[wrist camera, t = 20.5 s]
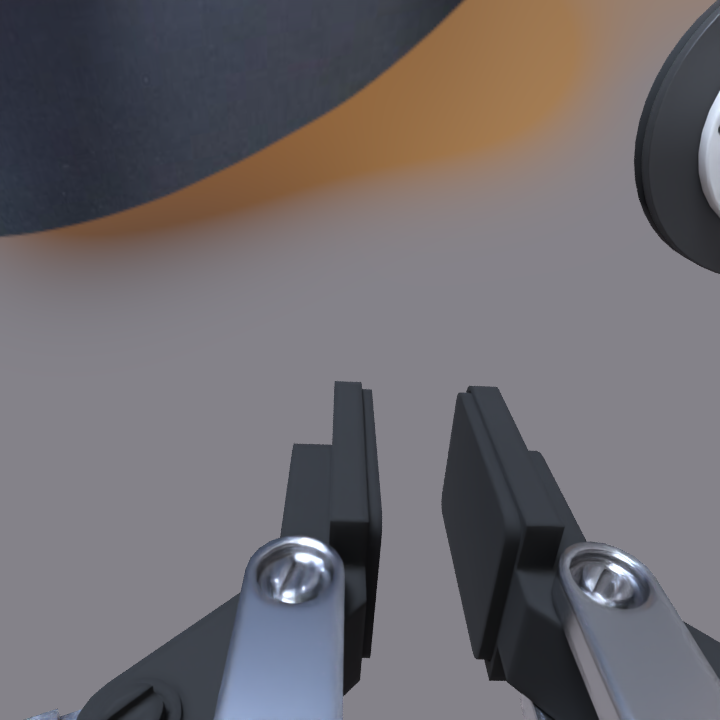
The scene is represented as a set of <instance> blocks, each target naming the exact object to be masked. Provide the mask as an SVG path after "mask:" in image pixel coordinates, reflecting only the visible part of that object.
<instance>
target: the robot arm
mask: <svg viewBox="0 0 720 720" xmlns="http://www.w3.org/2000/svg"><path fill="white" fill-rule="evenodd" d="M719 126H720V91H719V93H718V95H717V97H716V99H715V101H714V103H713V105H712V106H711V108H710V110H709V113H708V116H707V119H706V122H705V125H704V128H703V131H702V135H701V141H700V147H699V153H698V161H699V177H700V181H701V186H702V190H703V193H704V195H705V197H706V199H707V201H708V203H709V205H710V207H711V208H712V209H713V210H714V212H715V213H716V214H717V215H718V216H719V217H720V129H719V130H718V128H719ZM334 388H335V389H334V415H333V416H334V417H333V442H332V445H320V444H294V445H293V450H292V457H291V464H290V472H289V479H288V485H287V493H286V500H285V507H284V515H283V521H282V528H281V536H280V538H278V539H275V540H272V541H270V542H268V543H267V544H265V545H263V546H262V547H260V548H259V549H258V550H257V551H256V552H255V553H254V555H253V556H252V557H251V558H250V560H249V563H248V565H247V567H246V570H245V575H244V579H243V584H242V588H241V592H240V593H239V594H237V595H236V596H234V597H233V598H231V599H230V600H229V601H227V602H226V603H224V604H223V605H221V606H220V607H218V608H217V609H215V610H214V611H212V612H211V613H210V614H208V615H207V616H205V617H204V618H202V619H201V620H199V621H198V622H196V623H195V624H194V625H192V626H191V627H189V628H188V629H186V630H185V631H183V632H182V633H180V634H179V635H177V636H176V637H174V638H173V639H171V640H170V641H169V642H167V643H166V644H164V645H163V646H161V647H160V648H158V649H157V650H155V651H154V652H153V653H151V654H150V655H148V656H147V657H145V658H144V659H142V660H141V661H139V662H138V663H137V664H135V665H133V666H132V667H131V668H129V669H128V670H126V671H125V672H123V673H122V674H120V675H119V676H117V677H116V678H114V679H113V680H112V681H110V682H109V683H107V684H106V685H105V686H104V687H103V688H101V689H100V690H99V691H98V692H97V693H96V694H94V695H93V696H92V697H91V698H90V699H89V701H88V702H87V704H86V705H85V706H84V707H83V709H82V710H79V711H76V712H73V713H70V714H67V715H64V716H61V717H60V715H59V712H58V709H56V710H52V711H49V712H46V713H43V714H40V715H37V716H34V717H31V718H28V719H25V720H343V696H344V695H345V694H346V693H347V692H348V691H349V690H350V689H351V688H352V687H353V686H354V685H355V684H357V683H358V682H359V680H360V673H361V661H362V658H370V654H371V643H372V634H373V623H374V612H375V602H376V589H377V580H378V569H379V559H380V547H381V536H382V508H381V496H380V483H379V472H378V460H377V448H376V435H375V423H374V411H373V399H372V390H367V389H362V384H361V382H341V381H340V382H339V381H335V387H334ZM442 514H443V518H444V523H445V528H446V533H447V537H448V542H449V546H450V551H451V555H452V559H453V564H454V569H455V574H456V578H457V583H458V587H459V591H460V596H461V600H462V605H463V610H464V614H465V619H466V624H467V628H468V633H469V637H470V642H471V646H472V651H473V654H474V657H475V658H476V659H484V660H485V665H486V668H487V673H488V677H489V680H490V681H491V680H493V681H507V682H508V683H509V684H510V685H512V686H513V687H514V688H515V689H517V690H518V691H519V692H520V693H521V696H520V700H521V707H522V712H523V716H524V719H525V720H720V643H719V642H718V641H716V640H714V639H713V638H711V637H709V636H708V635H706V634H704V633H702V632H701V631H699V630H697V629H695V628H694V627H692V626H690V625H689V624H687V623H685V622H683V621H682V619H681V618H680V616H679V615H678V613H677V611H676V610H675V608H674V607H673V605H672V603H671V602H670V600H669V598H668V597H667V595H666V594H665V592H664V590H663V589H662V587H661V586H660V584H659V583H658V581H657V579H656V578H655V576H654V575H653V574H652V573H651V572H650V570H649V569H648V568H647V567H646V566H645V565H644V564H643V563H641V562H640V561H639V560H638V559H636V558H635V557H634V556H632V555H630V554H629V553H627V552H625V551H623V550H621V549H619V548H617V547H614V546H611V545H607V544H604V543H597V542H586V539H585V537H584V536H583V534H582V532H581V530H580V528H579V526H578V524H577V522H576V520H575V518H574V516H573V514H572V512H571V510H570V508H569V506H568V504H567V502H566V500H565V498H564V497H563V495H562V493H561V491H560V489H559V487H558V485H557V483H556V481H555V479H554V477H553V475H552V473H551V471H550V469H549V467H548V465H547V464H546V462H545V459H544V458H543V456H542V455H541V453H540V452H538V451H528V449H527V447H526V445H525V443H524V441H523V439H522V437H521V435H520V433H519V430H518V428H517V427H516V424H515V422H514V420H513V418H512V416H511V414H510V412H509V410H508V408H507V406H506V404H505V401H504V400H503V397H502V395H501V393H500V391H499V389H498V388H497V387H485V386H469V387H468V389H467V391H466V393H458V395H457V400H456V406H455V413H454V419H453V426H452V432H451V439H450V447H449V452H448V459H447V466H446V472H445V479H444V486H443V492H442Z"/></svg>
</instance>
